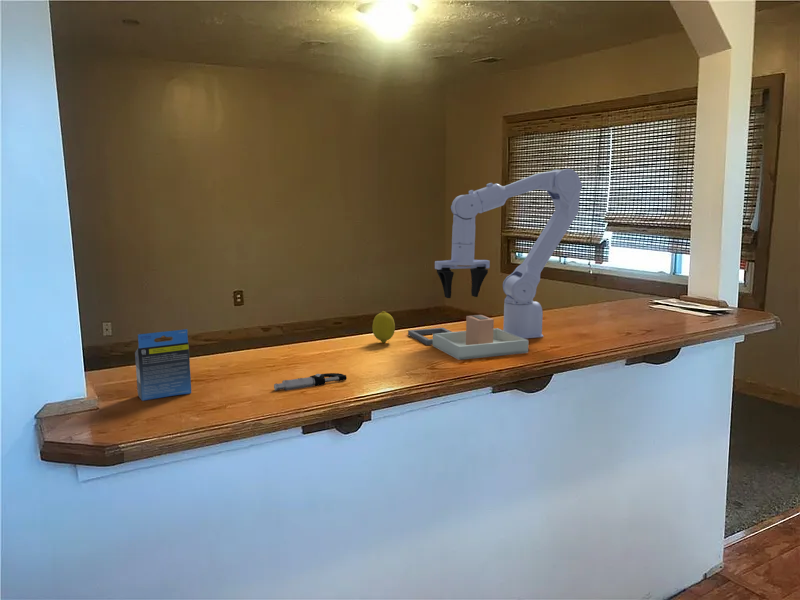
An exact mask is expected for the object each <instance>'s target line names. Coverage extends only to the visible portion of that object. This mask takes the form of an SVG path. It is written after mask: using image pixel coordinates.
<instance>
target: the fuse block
mask: <svg viewBox="0 0 800 600" xmlns="http://www.w3.org/2000/svg"><path fill="white" fill-rule="evenodd" d="M465 318H466V321H465V329H466V330H465V331H466V345H473V344H484V343H493V329H495V328H494V324H495V323H494V321H495V319H494V318H491V317H488V316H486V315H483V314H474V315H466V317H465Z"/></svg>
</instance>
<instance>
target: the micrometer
mask: <svg viewBox="0 0 800 600" xmlns="http://www.w3.org/2000/svg"><path fill="white" fill-rule="evenodd" d="M337 381H339V382H342V381H347V374H343V373H340V372H337V373H336V372H330V373H316V374H313V375H310V376H308V377H300V378H294V379H285V380H284V379H283V380H282V381H281V383H274V384H273V388H274V391H281V390H284V391H290V390H299V389H305V388H306V389H307V388H311V387H312V388H313V387H318V386H324V385H326V383H328V382H337Z"/></svg>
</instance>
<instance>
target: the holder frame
mask: <svg viewBox="0 0 800 600" xmlns="http://www.w3.org/2000/svg"><path fill="white" fill-rule="evenodd" d="M447 332H453V331H451V330H450V329H447V328H445V327H434V328H423V329H412V330H411V329H409V330H407V335H408V336H409V337H411V338H413V339H415V340H417V341H419V342H420V343H422V344H424V345H426V346H433V338H430V339H429V338H428V337H426V336H424V335H433V334H436V333H447Z"/></svg>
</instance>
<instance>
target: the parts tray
mask: <svg viewBox="0 0 800 600" xmlns="http://www.w3.org/2000/svg"><path fill="white" fill-rule="evenodd" d="M432 339H433V345H432V347H433V348H436V349H438V350H439V351H442V352H443V353H445V354H447V355H449V356H450V357H453V358H454V359H456V360H458V361H459V360H460V361H463V360H470V359H471V360H473V359H480V358H482V359H483V358H491V357H501V356H509V355H510V356H511V355H519V354H520V355H521V354H522V355H523V354H528V353H529V339H528V338H526V339H524V338H521V337H519V336H516V335H514V334H511V333H509V332H506V331H504V330H503V329H501V328H498V327H496V328H493V343H484V344H473V345H466V330H461V331H452V332H447V333H436V334H432Z"/></svg>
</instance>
